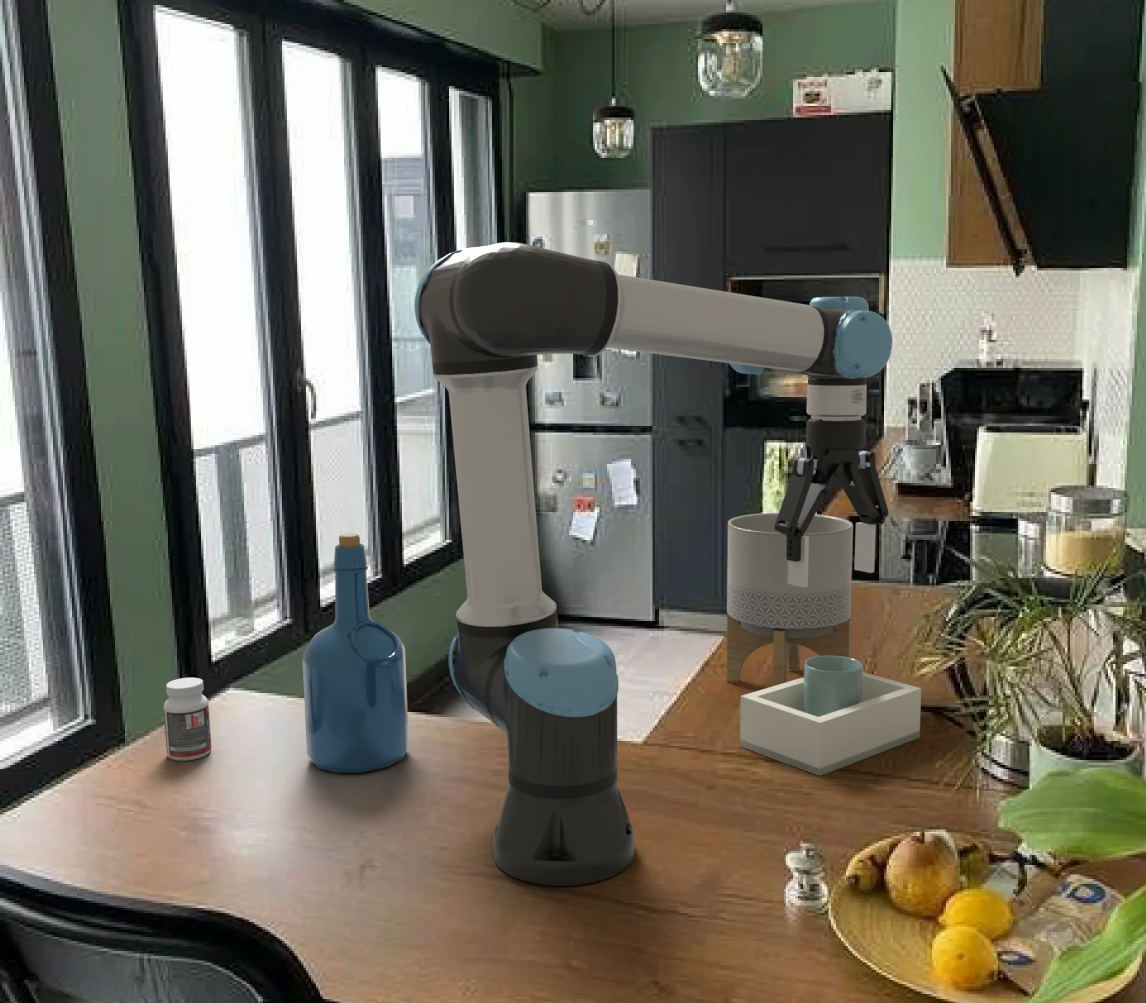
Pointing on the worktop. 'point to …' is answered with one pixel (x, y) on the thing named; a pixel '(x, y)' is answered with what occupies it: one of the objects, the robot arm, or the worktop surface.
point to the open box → (829, 724)
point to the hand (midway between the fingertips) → (831, 578)
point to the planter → (787, 593)
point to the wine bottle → (354, 678)
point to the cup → (831, 684)
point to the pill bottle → (187, 720)
